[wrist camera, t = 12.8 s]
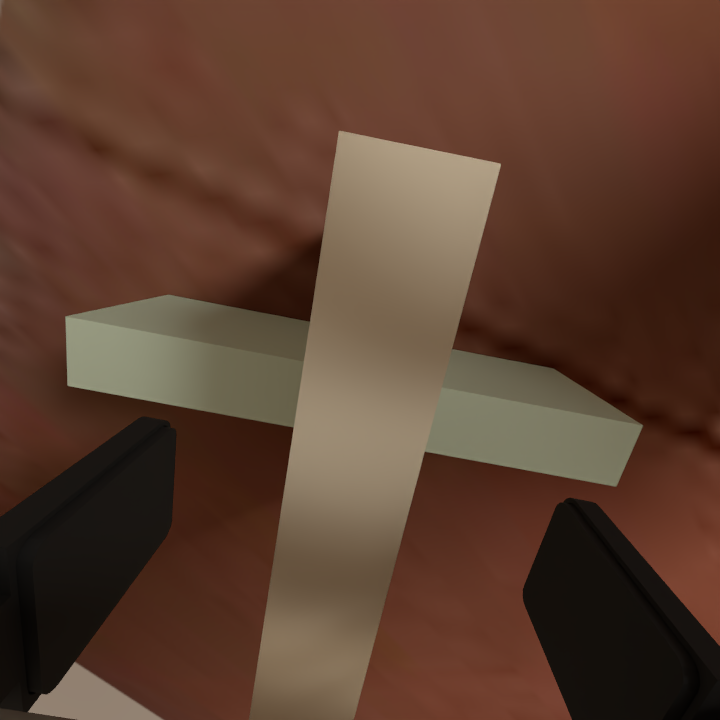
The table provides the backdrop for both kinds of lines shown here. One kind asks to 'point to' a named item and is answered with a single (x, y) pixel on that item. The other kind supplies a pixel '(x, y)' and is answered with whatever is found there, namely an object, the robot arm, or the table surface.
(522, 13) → the table surface
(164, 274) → the table surface
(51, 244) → the table surface
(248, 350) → the slotted base
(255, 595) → the table surface
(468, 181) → the maple plate
